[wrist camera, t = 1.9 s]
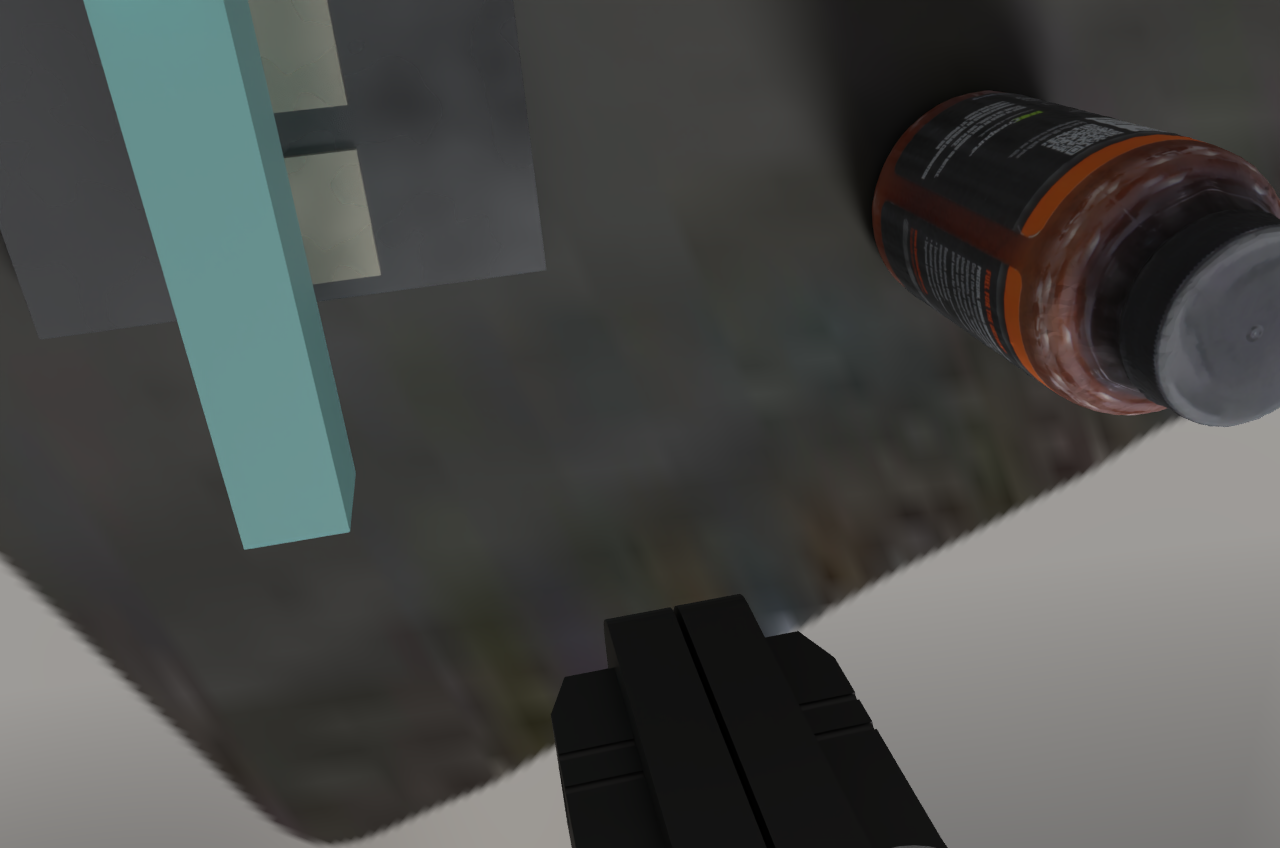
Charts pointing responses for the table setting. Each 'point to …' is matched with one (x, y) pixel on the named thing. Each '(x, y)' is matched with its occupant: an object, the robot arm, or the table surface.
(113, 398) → the table surface
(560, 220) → the table surface
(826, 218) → the table surface
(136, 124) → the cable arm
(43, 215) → the plate
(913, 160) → the supplement bottle
